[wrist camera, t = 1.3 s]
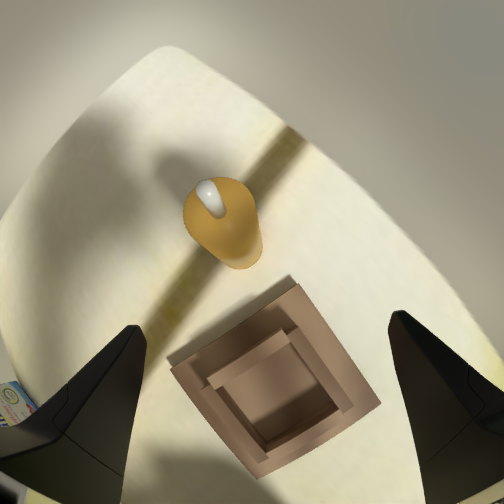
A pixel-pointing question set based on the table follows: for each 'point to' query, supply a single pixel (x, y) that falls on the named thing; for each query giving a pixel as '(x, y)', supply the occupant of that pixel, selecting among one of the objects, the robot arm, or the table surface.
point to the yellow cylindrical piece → (224, 221)
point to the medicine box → (14, 404)
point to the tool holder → (277, 384)
